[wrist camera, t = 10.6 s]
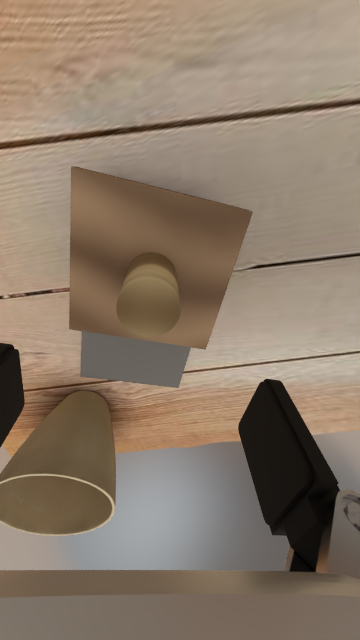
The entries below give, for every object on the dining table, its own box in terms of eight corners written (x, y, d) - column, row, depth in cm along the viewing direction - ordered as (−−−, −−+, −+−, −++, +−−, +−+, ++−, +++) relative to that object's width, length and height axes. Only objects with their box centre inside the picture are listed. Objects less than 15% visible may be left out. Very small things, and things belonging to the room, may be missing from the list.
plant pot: (144, 393, 44) (136, 495, 30) (106, 440, 49) (85, 543, 36) (59, 358, 39) (4, 461, 25) (28, 415, 45) (-31, 523, 31)
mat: (84, 282, 33) (83, 284, 32) (202, 303, 35) (203, 305, 35) (81, 374, 41) (80, 376, 40) (178, 385, 43) (178, 387, 43)
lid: (76, 166, 18) (30, 164, 12) (248, 209, 20) (287, 227, 14) (73, 322, 24) (42, 374, 18) (203, 342, 26) (216, 395, 20)
